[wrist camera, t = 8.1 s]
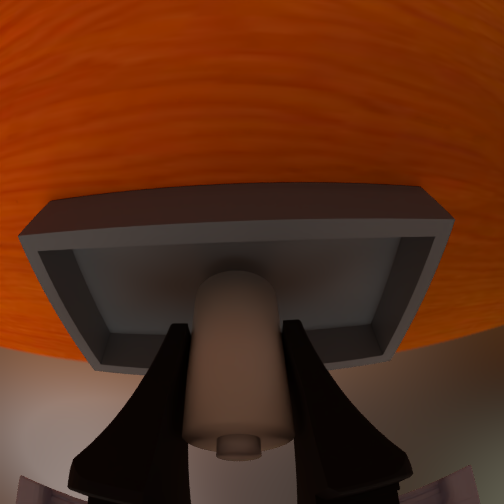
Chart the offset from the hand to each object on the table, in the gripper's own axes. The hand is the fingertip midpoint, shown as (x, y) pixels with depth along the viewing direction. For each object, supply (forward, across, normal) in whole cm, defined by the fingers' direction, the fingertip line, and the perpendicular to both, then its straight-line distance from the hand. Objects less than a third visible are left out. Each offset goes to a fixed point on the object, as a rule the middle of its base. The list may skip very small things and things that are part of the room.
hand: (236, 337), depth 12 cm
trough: (+4, 0, 0) cm, 4 cm away
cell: (+2, 0, 0) cm, 2 cm away
